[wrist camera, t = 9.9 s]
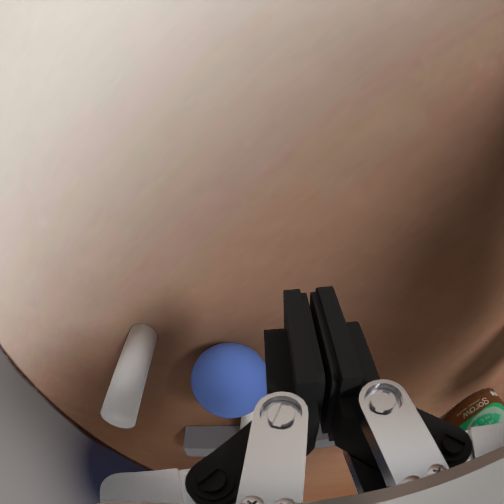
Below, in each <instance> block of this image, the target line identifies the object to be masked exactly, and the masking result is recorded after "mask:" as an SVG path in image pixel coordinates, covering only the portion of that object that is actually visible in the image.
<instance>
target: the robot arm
mask: <svg viewBox="0 0 504 504" xmlns="http://www.w3.org/2000/svg"><path fill="white" fill-rule="evenodd" d="M283 295H284V329H271V330H264V341H265V363H266V385H267V395H266V396H265V397H263V398H261V399H260V401H259V402H258V403H257V404H256V406H255V409H254V412H253V418H252V421H250V422H249V423H248V424H247V425H246V426H244V427H243V428H242V429H241V430H239V431H238V432H237V433H236V434H235V435H233V436H232V437H231V438H230V439H228V440H227V441H226V442H224V443H223V444H222V445H221V446H219V447H218V448H217V449H215V450H214V451H213V452H211V453H210V454H209V455H207V456H206V457H205V458H203V459H202V460H201V461H199V462H198V463H197V464H195V465H194V466H193V467H192V468H191V469H185V470H178V468H174V469H165V470H156V471H145V472H131V473H117V474H113V475H110V476H109V477H107V478H106V479H105V480H104V481H103V483H102V484H101V489H100V503H99V504H504V423H498V424H491V425H484V426H477V427H470V429H469V430H463V429H462V428H460V427H458V426H455V425H453V424H451V423H449V422H446V421H444V420H442V419H440V418H437V417H435V416H433V415H431V414H429V413H427V412H424V411H422V410H420V409H418V408H416V407H415V406H414V404H413V403H412V401H411V399H410V398H409V396H408V394H407V392H406V391H405V390H404V388H403V387H402V386H401V385H399V384H398V383H396V382H394V381H391V380H385V379H380V378H379V375H378V372H377V370H376V367H375V364H374V361H373V359H372V356H371V353H370V351H369V348H368V345H367V343H366V340H365V337H364V335H363V332H362V330H361V327H360V325H359V323H358V322H348V323H346V322H345V319H344V316H343V313H342V310H341V308H340V305H339V302H338V299H337V297H336V294H335V291H334V288H333V287H332V286H330V287H319V288H316V292H311V293H310V306H309V302H308V298H307V294H306V293H301V292H300V289H294V290H284V292H283ZM319 424H320V425H321V431H322V434H325V433H328V438H329V441H334V442H335V445H336V446H337V447H339V448H341V449H343V454H344V457H345V460H346V463H347V465H348V468H349V471H350V473H351V476H352V479H353V481H354V484H355V487H356V489H357V492H358V494H356V495H350V496H345V497H339V498H333V499H326V500H319V501H310V502H302V500H303V489H304V476H305V463H306V456H307V455H308V454H309V453H310V452H311V451H312V450H313V449H314V448H315V443H316V437H317V434H318V430H319Z"/></svg>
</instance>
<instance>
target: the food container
mask: <svg viewBox="0 0 504 504" xmlns="http://www.w3.org/2000/svg"><path fill="white" fill-rule="evenodd" d="M444 421H446V422H449V423H451V424H453V425H455V426H458V427H460V428H462V429H463V430H469V429H470V427H477V426H484V425H491V424H498V423H504V403H503V401H502V400H501V399H500V398H499V396H498V395H497V394H496V393H495V391H494V390H493V389H491V388H486V389H482V390H479V391H477V392H475V393H473V394H471V395H470V396H468V397H467V398H465V399H464V400H462V401H461V402H460V403H458V404H457V405H456V406H455V407H454V408H453V409H452V410H451V411H450V412H449V413H448V414H447V416H446V417H445V419H444Z"/></svg>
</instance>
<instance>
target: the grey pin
mask: <svg viewBox="0 0 504 504" xmlns="http://www.w3.org/2000/svg"><path fill="white" fill-rule="evenodd" d="M157 339H158V336H157V333H156V332H155V330H154V329H153V328H151V327H150V326H148V325H145V324H136V325H133V326H132V327H131V329H130V331H129V334H128V336H127V339H126V342H125V344H124V347H123V350H122V352H121V355H120V358H119V360H118V363H117V366H116V369H115V371H114V374H113V377H112V380H111V383H110V385H109V388H108V391H107V394H106V397H105V400H104V403H103V406H102V409H101V412H100V414H101V416H102V418H103V419H104V420H105V421H107V422H108V423H110V424H112V425H114V426H116V427H120V428H132V427H134V426H135V424H136V419H137V415H138V411H139V407H140V403H141V399H142V395H143V391H144V387H145V383H146V379H147V375H148V372H149V368H150V364H151V360H152V357H153V353H154V349H155V346H156V342H157Z"/></svg>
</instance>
